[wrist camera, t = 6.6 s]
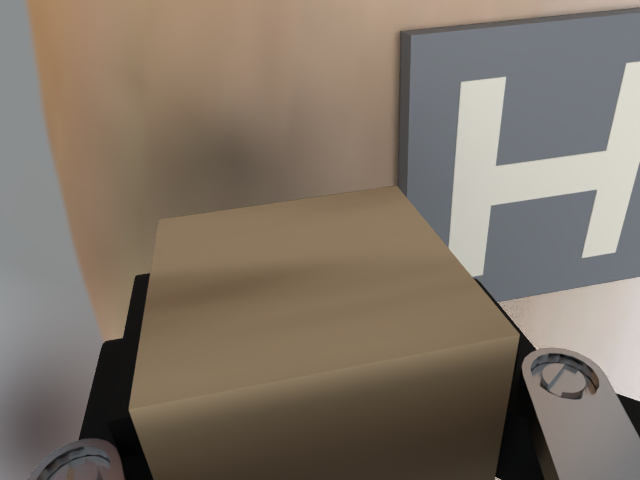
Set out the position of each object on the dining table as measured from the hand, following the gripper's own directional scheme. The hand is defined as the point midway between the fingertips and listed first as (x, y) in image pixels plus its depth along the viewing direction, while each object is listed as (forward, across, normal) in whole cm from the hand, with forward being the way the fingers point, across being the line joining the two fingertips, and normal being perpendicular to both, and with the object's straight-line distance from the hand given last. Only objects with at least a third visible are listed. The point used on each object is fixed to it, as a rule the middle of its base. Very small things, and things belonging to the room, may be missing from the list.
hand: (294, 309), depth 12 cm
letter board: (+12, -14, +3) cm, 18 cm away
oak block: (0, 0, 0) cm, 0 cm away
